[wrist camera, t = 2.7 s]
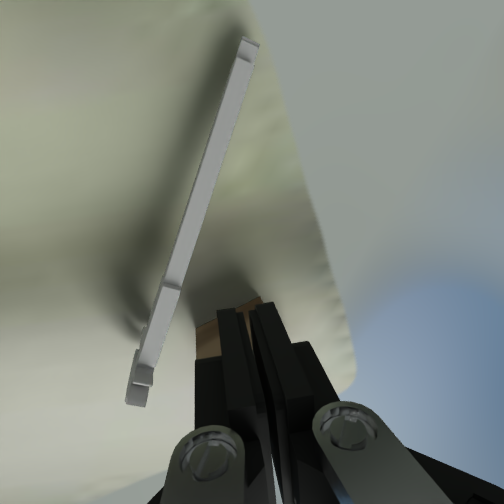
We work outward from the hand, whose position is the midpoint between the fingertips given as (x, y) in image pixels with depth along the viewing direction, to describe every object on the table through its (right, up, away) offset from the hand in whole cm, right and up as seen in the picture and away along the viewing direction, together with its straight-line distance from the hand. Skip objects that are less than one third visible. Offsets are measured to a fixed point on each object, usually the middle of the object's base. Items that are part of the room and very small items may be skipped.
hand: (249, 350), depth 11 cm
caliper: (-4, +6, +13) cm, 15 cm away
